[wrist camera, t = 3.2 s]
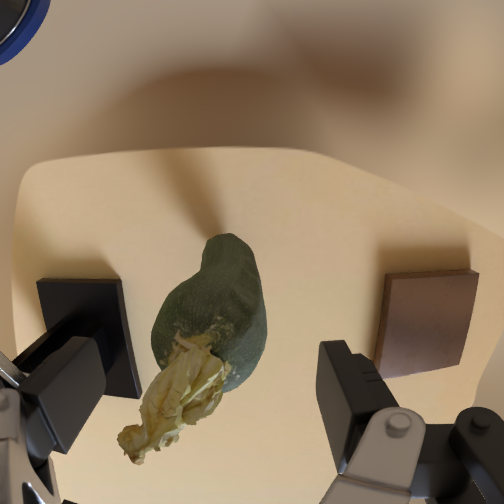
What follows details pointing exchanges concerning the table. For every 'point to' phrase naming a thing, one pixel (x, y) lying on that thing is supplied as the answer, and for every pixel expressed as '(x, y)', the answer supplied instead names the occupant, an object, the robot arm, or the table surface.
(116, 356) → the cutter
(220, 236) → the vegetable
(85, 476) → the table surface
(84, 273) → the table surface
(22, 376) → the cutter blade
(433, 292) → the board
